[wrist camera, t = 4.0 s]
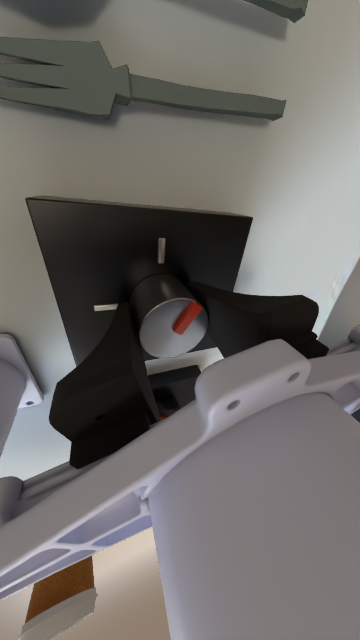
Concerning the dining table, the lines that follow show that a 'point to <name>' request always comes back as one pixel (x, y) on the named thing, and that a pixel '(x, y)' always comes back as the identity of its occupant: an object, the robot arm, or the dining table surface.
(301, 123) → the dining table surface
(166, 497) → the robot arm
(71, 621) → the disposable coffee cup
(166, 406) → the button housing
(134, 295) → the oven dial
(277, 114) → the green plate with cutlery
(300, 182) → the dining table surface
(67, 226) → the dial panel
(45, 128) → the dining table surface
